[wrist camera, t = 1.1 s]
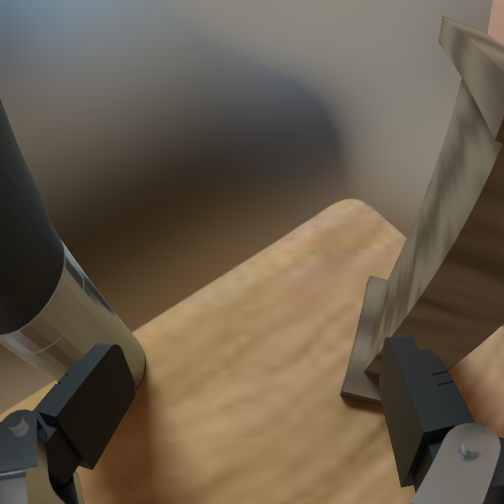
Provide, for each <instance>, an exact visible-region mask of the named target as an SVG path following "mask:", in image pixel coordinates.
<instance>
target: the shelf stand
mask: <svg viewBox="0 0 504 504" xmlns="http://www.w3.org/2000/svg"><path fill="white" fill-rule="evenodd" d="M439 43H440V45H441V46H442V47H443V49H444V50H445V52H446V53H447V55H448V56H449V58H450V59H451V61H452V63H453V64H454V65H455V67H456V69H457V70H458V72H459V74H460V75H461V77H462V80H461V84H460V88H459V92H458V96H457V100H456V103H455V107H454V110H453V114H452V118H451V121H450V124H449V128H448V131H447V134H446V137H445V140H444V143H443V146H442V149H441V152H440V155H439V158H438V161H437V164H436V167H435V170H434V172H433V175H432V178H431V180H430V183H429V186H428V188H427V191H426V194H425V196H424V199H423V201H422V204H421V206H420V209H419V211H418V214H417V216H416V218H415V221H414V224H413V226H412V228H411V230H410V233H409V235H408V237H407V239H406V242H405V244H404V246H403V248H402V250H401V253H400V255H399V257H398V259H397V261H396V263H395V266H394V268H393V270H392V272H391V274H390V276H389V278H388V280H385V279H381V278H378V277H374V276H370V277H369V279H368V282H367V285H366V291H365V295H364V300H363V305H362V310H361V314H360V319H359V323H358V328H357V332H356V336H355V340H354V344H353V348H352V352H351V356H350V360H349V364H348V368H347V371H346V375H345V379H344V382H343V386H342V389H341V393H340V395H343V396H347V397H351V398H355V399H359V400H363V401H367V402H372V403H376V404H380V405H382V403H381V399H380V393H379V377H380V369H381V361H382V353H383V344H384V339H385V338H386V337H392V336H400V335H408V334H411V335H412V336H413V338H414V340H415V342H416V344H417V346H418V348H419V350H425V349H430V350H431V351H432V352H433V353H435V354H436V355H437V356H439V357H440V358H441V359H442V361H443V362H444V364H445V366H446V368H447V370H448V369H450V368H451V367H452V366H454V365H455V364H456V363H458V362H459V361H460V360H461V359H463V358H464V357H465V356H467V355H468V354H469V353H470V352H472V351H473V350H474V349H475V348H476V347H478V346H479V345H480V344H481V343H482V342H484V341H485V340H486V339H487V338H488V337H489V336H490V335H492V334H493V333H494V332H495V331H496V330H497V329H498V328H499V327H501V326H502V325H503V324H504V46H503V45H502V44H501V43H499V42H498V41H497V40H495V39H494V38H493V37H491V36H490V35H488V33H487V32H485V31H482V30H480V29H477V28H475V27H472V26H470V25H467V24H464V23H461V22H459V21H456V20H453V19H450V18H447V17H444V16H442V23H441V31H440V36H439Z"/></svg>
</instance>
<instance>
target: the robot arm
mask: <svg viewBox="0 0 504 504" xmlns="http://www.w3.org/2000/svg"><path fill="white" fill-rule="evenodd" d="M0 343H1V344H2V345H4V346H5V347H6V348H8V349H9V350H11V351H12V352H13V353H15V354H16V355H18V356H19V357H21V358H22V359H24V360H25V361H27V362H28V363H30V364H31V365H33V366H34V367H36V368H37V369H39V370H40V371H42V372H44V373H45V374H47V375H48V376H50V377H51V378H53V379H55V380H56V381H58V384H55V385H54V387H53V388H52V389H51V390H50V391H49V392H48V394H47V395H46V396H45V397H44V398H43V399H42V401H41V402H40V403H39V404H38V405H37V407H36V408H35V409H34V410H33V411H30V410H18V411H15V412H13V413H11V414H9V415H8V416H7V417H6V418H5V419H4V420H3V421H2V422H0V504H85V501H84V496H83V492H82V488H81V483H80V478H79V475H78V473H77V472H76V471H75V470H76V469H77V467H78V466H81V467H84V468H87V469H90V470H93V469H94V467H95V465H96V463H97V462H98V460H99V458H100V456H101V455H102V453H103V451H104V449H105V448H106V446H107V444H108V442H109V441H110V439H111V437H112V435H113V434H114V432H115V430H116V428H117V427H118V425H119V423H120V421H121V420H122V418H123V416H124V414H125V413H126V411H127V409H128V408H129V406H130V404H131V402H132V401H133V399H134V396H135V390H136V388H137V387H138V385H139V384H140V382H141V380H142V377H143V374H144V370H145V355H144V352H143V349H142V347H141V345H140V343H139V341H138V340H137V339H136V338H135V337H134V335H133V334H132V333H131V332H130V331H129V330H128V328H127V327H126V326H125V325H124V323H123V322H122V321H121V320H120V318H119V317H118V316H117V315H116V314H115V312H114V311H113V310H112V309H111V307H110V306H109V305H108V304H107V302H106V301H105V300H104V298H103V297H102V296H101V294H100V293H99V292H98V291H97V289H96V288H95V287H94V285H93V284H92V283H91V281H90V280H89V279H88V277H87V276H86V274H85V273H84V272H83V271H82V269H81V268H80V266H79V265H78V264H77V262H76V261H75V259H74V258H73V257H72V255H71V254H70V252H69V251H68V249H67V248H66V246H65V245H64V243H63V242H62V241H61V239H60V237H59V236H58V235H57V233H56V231H55V230H54V228H53V225H52V223H51V220H50V218H49V215H48V212H47V209H46V207H45V204H44V201H43V198H42V196H41V193H40V191H39V189H38V187H37V186H36V183H35V181H34V179H33V177H32V175H31V173H30V171H29V169H28V167H27V165H26V162H25V160H24V158H23V156H22V153H21V151H20V149H19V147H18V144H17V141H16V139H15V137H14V134H13V131H12V129H11V126H10V123H9V120H8V118H7V115H6V113H5V110H4V107H3V105H2V102H1V99H0ZM379 393H380V399H381V403H382V407H383V411H384V415H385V419H386V423H387V427H388V431H389V435H390V439H391V443H392V448H393V452H394V456H395V461H396V465H397V470H398V475H399V480H400V485H401V487H406V486H411V485H414V488H415V493H416V494H415V496H414V497H413V499H412V501H411V502H410V504H504V438H499V437H498V436H497V435H496V433H495V432H494V431H493V430H492V429H490V428H489V427H487V426H485V425H483V424H479V423H475V421H474V420H473V418H472V416H471V413H470V411H469V409H468V407H467V405H466V404H465V402H464V400H463V398H462V396H461V394H460V392H459V390H458V388H457V386H456V384H454V381H453V379H452V377H451V375H450V373H448V370H447V368H446V366H445V364H444V362H443V361H442V359H441V358H440V357H439V356H437V355H436V354H435V353H433V352H432V351H431V350H430V349H425V350H419V348H418V346H417V344H416V342H415V340H414V338H413V336H412V335H411V334H408V335H400V336H392V337H386V338H385V339H384V344H383V353H382V361H381V369H380V377H379Z"/></svg>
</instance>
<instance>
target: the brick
mask: <svg viewBox="0 0 504 504" xmlns="http://www.w3.org/2000/svg"><path fill="white" fill-rule="evenodd" d="M488 35H490V36H491V37H493V38H494V39H495V40H497V41H498V42H499V43H501V44H502V45H503V46H504V0H493V4H492V11H491V17H490V23H489V29H488Z"/></svg>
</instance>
